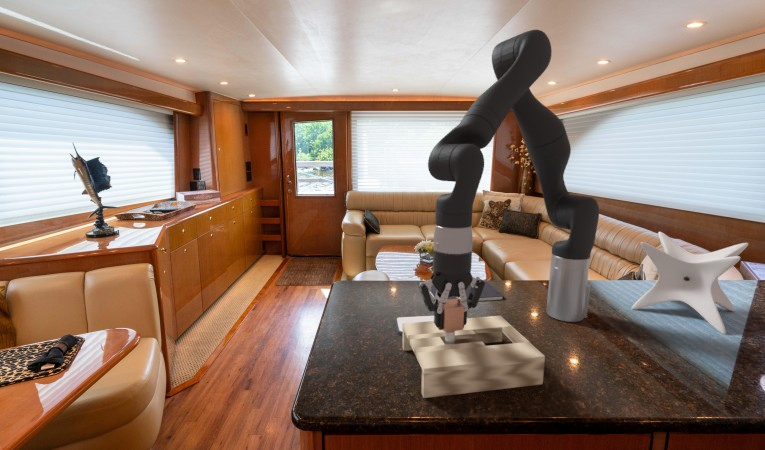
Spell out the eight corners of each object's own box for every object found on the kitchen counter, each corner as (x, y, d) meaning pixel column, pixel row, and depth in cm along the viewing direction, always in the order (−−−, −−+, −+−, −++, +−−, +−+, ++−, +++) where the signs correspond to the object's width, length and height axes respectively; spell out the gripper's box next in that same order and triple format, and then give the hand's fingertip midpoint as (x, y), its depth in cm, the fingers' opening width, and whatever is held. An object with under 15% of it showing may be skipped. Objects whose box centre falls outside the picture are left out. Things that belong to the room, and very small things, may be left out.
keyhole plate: (498, 338, 89) (500, 315, 87) (542, 384, 71) (545, 356, 70) (402, 347, 85) (402, 323, 84) (423, 398, 67) (424, 368, 66)
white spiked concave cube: (630, 309, 105) (640, 241, 101) (649, 291, 118) (658, 231, 114) (725, 334, 90) (740, 257, 86) (734, 311, 103) (748, 242, 99)
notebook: (486, 286, 124) (426, 289, 122) (487, 281, 124) (426, 285, 121) (504, 300, 112) (437, 305, 109) (504, 295, 112) (437, 300, 109)
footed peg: (456, 355, 80) (458, 297, 77) (464, 368, 75) (467, 307, 72) (434, 357, 79) (435, 299, 76) (441, 371, 74) (443, 309, 72)
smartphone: (397, 338, 90) (461, 335, 91) (397, 332, 90) (461, 329, 91) (394, 322, 99) (452, 319, 100) (394, 316, 98) (453, 313, 99)
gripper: (478, 241, 77) (474, 316, 80) (413, 244, 75) (412, 321, 78) (495, 250, 70) (490, 333, 73) (423, 254, 67) (421, 339, 71)
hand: (450, 326), depth 76 cm, fingers closed on footed peg, 4 cm apart
